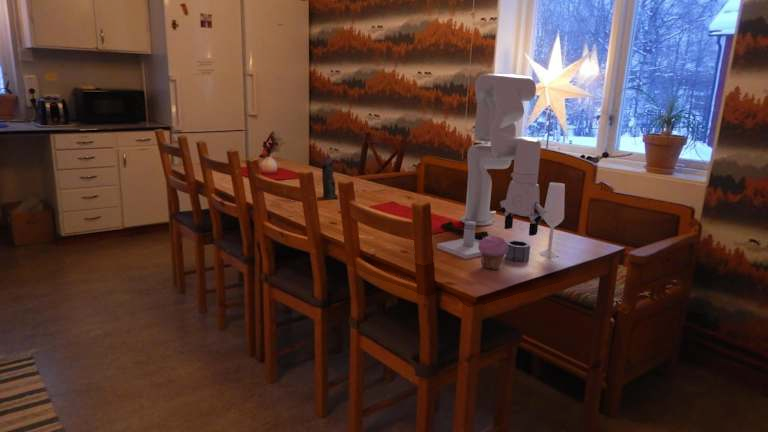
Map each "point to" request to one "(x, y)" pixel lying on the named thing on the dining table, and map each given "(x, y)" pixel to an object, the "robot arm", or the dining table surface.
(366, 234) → the dining table surface
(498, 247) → the cupcake
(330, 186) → the statue
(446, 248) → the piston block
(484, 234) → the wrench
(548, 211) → the champagne flute
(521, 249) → the steel ring
